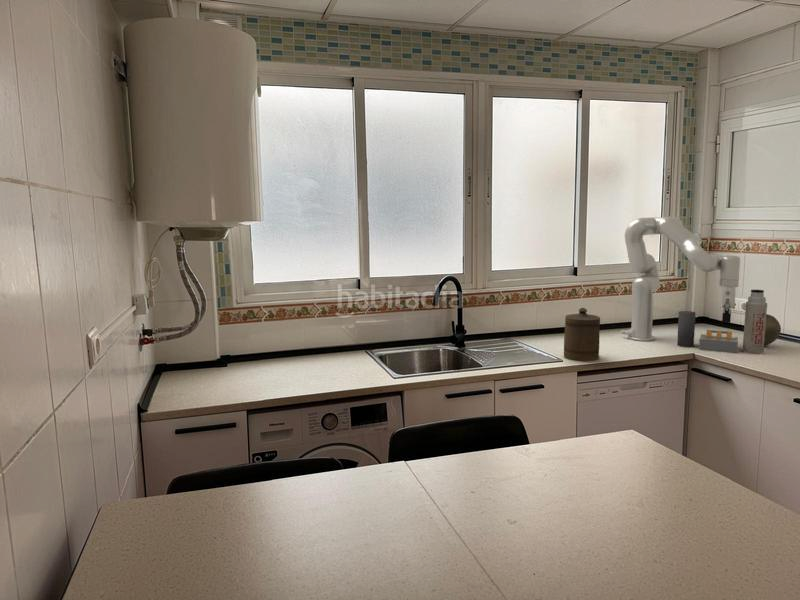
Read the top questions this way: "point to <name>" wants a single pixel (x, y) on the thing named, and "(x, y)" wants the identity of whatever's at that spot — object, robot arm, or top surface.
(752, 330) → the thermos bottle
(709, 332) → the breaker paddles
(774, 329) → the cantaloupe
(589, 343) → the wooden container
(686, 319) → the dark gray cylinder
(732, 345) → the breaker box
